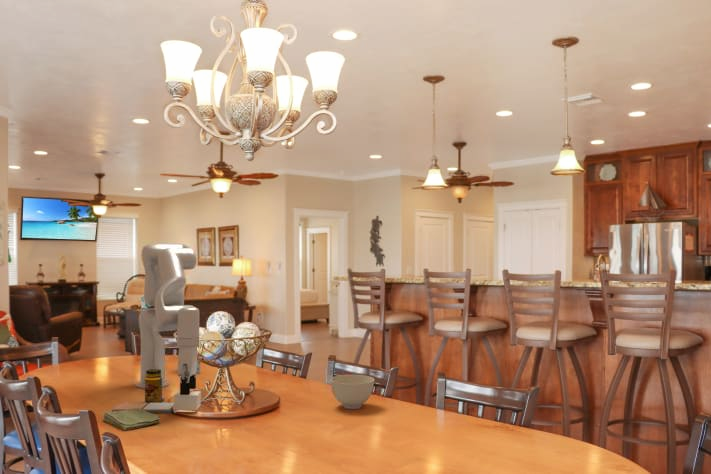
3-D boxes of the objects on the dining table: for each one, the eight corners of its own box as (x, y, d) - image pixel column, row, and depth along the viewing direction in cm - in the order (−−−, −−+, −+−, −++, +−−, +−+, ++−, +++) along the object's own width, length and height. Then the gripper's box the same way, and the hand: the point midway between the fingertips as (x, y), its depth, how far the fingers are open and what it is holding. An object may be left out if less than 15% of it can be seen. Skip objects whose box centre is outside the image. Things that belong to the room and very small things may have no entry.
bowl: (369, 413, 222) (370, 385, 222) (325, 411, 226) (325, 382, 226) (377, 402, 238) (377, 375, 238) (335, 400, 241) (335, 373, 241)
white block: (178, 408, 228) (178, 391, 228) (200, 408, 228) (200, 391, 228) (173, 412, 222) (174, 395, 222) (197, 412, 222) (197, 395, 222)
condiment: (143, 405, 231) (143, 372, 231) (143, 400, 239) (144, 367, 239) (164, 404, 233) (164, 371, 233) (164, 398, 241) (164, 366, 241)
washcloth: (124, 433, 199) (124, 422, 199) (100, 421, 212) (100, 411, 212) (163, 425, 208) (163, 415, 208) (138, 414, 221) (138, 405, 221)
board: (121, 406, 230) (121, 402, 230) (177, 406, 231) (177, 402, 231) (111, 413, 220) (111, 409, 220) (170, 413, 221) (170, 409, 221)
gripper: (183, 339, 233) (183, 386, 233) (171, 346, 216) (171, 397, 216) (204, 339, 234) (203, 386, 233) (193, 346, 216) (193, 397, 216)
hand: (188, 391), depth 224 cm, fingers open, 9 cm apart
